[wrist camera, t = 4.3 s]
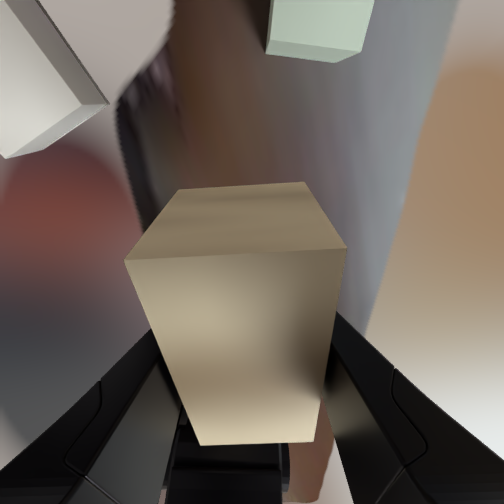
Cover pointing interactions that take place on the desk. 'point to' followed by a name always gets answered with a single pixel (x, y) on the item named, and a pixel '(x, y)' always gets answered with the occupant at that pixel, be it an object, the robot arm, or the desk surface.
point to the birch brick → (243, 307)
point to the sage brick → (317, 28)
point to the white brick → (39, 81)
